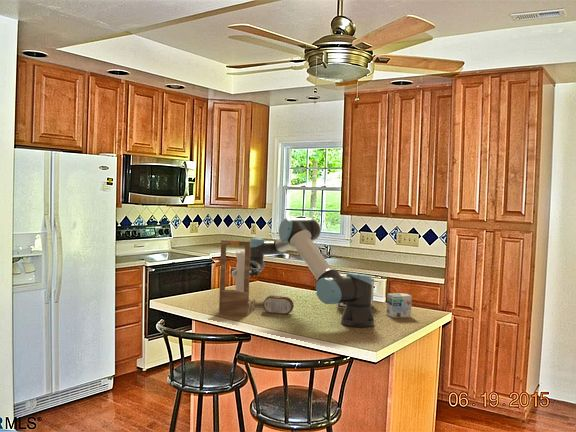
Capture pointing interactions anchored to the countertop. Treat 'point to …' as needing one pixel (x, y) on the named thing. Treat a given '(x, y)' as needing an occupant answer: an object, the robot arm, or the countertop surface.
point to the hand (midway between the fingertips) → (239, 274)
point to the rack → (235, 299)
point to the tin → (278, 305)
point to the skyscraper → (240, 270)
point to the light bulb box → (399, 305)
